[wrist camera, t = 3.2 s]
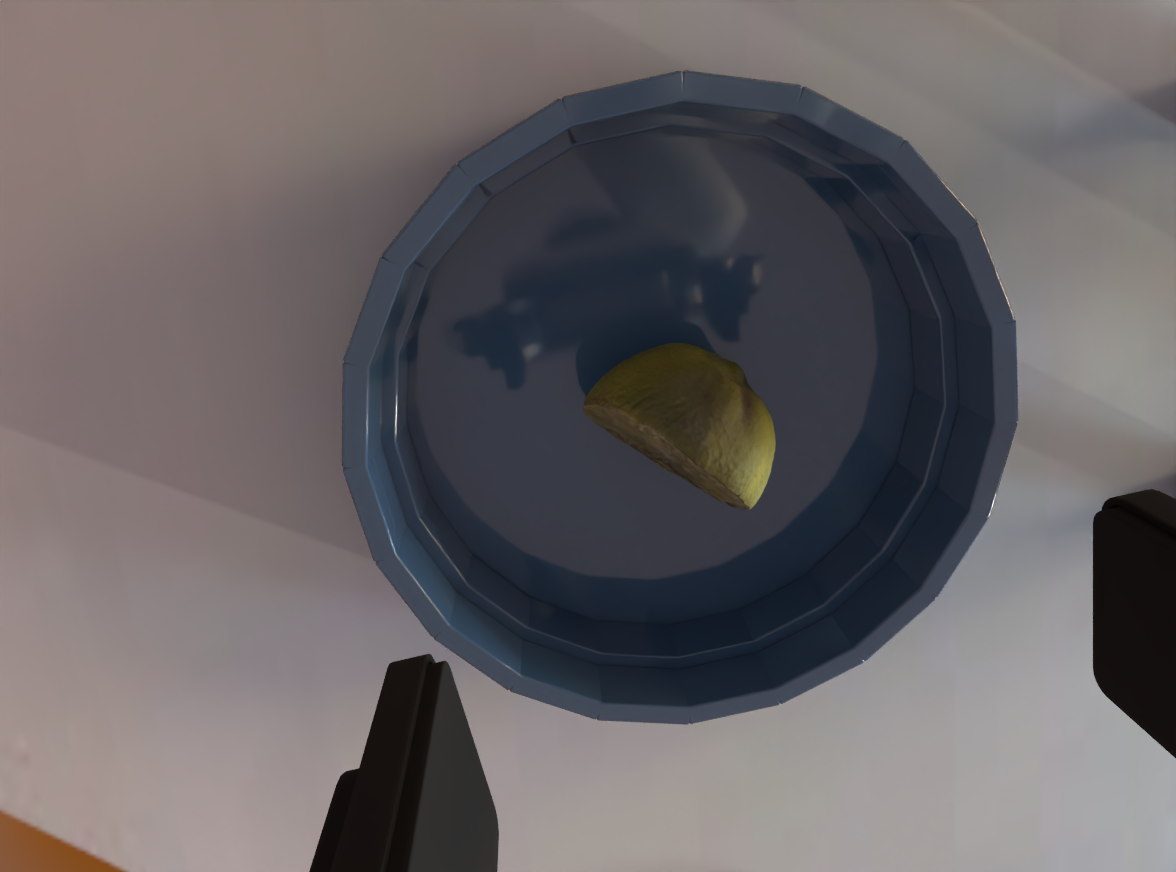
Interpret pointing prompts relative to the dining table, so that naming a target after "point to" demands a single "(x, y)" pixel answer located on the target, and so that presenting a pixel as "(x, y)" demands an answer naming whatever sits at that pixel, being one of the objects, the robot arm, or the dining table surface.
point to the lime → (690, 419)
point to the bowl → (713, 322)
